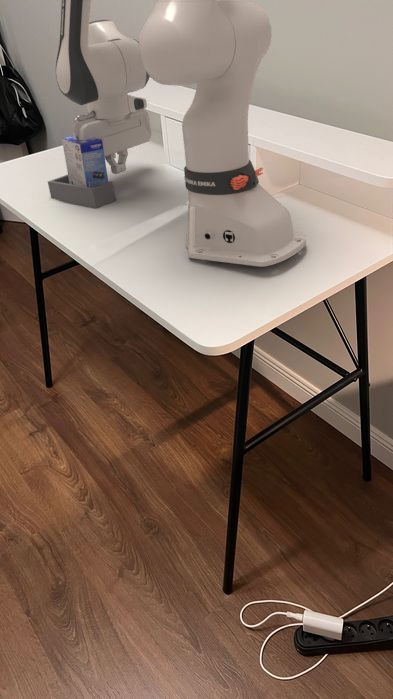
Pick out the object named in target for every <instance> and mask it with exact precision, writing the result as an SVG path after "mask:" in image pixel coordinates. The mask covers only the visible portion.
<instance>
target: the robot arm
mask: <svg viewBox="0 0 393 699" xmlns="http://www.w3.org/2000/svg"><path fill="white" fill-rule="evenodd" d="M91 4H92V0H61V4H60V5H61V6H60V8H61V9H60V26H59V27H60V28H59V29H60V30H59V44H58V49H57V50H58V51H57V56H56V62H55V78H56V79H55V80H56V83H57V86H58V88H59V90H60V92H61V94H63V95H64V96H65V97H66V99H69V101H71V102H73V103H75V104H77V105H79V106H83V105H86V107H87V111H88V112H86V113H84V114H78V115H77V116H75V118H74V121H73V122H72V124H71V126H72V132H73V135H72V136H73V139H76V140H78V139H79V140H88V139H91V138H99V139H102V142H103V149H104V156H105V162H106V163H107V164H108V165H109V166H110V171H111V174H113V175H114V174H115V175H118V174H120V173H123V172H126V171H127V164H126V163H127V159H128V155H129V152H128V151H129V150H128V149H131V148H134V147H137V146H141V145H142V144H146V143H148V142H150V141H151V138H152V127H151V121H150V116H149V113H148V111H147V110H146V108H147V106H148V104H147V99H146V98H144V97H141V96H135V95H131V94H129V93H134V92H137V91H140V90H142V89H144V88H145V87H146V86H147V84H148V82H149V80H150V78H151V80H153V81H155V83H158V84H160V85H164V86H183V87H184V86H185V87H187V86H192V85H195V84H196V90H195V93H194V97H193V99H192V101H191V102H192V103H191V104H190V106H189V107H188V109H187V111H185V114H184V116H183V118H182V123H181V127H182V128H181V129H182V130H181V131H182V138H183V139H182V140H183V149H184V159H185V166H184V167H183V169H184V170H183V174H184V183H185V189H186V190H187V193H188V194H187V195H188V197H187V199H188V206H187V207H188V212H187V214H188V216H187V229H186V230H187V231H186V236H185V241H184V244H185V247H186V249H187V256H188V257H189V258H190V259H194V260H195V259H196V260H203V261H212V262H219V263H220V262H221V263H227V264H228V263H229V264H235V265H242V266H243V265H245V266H253V267H268V266H273V265H276V264H279V263H282V262H284V261H285V260H287V259H289V258H291V257H293V256H295V255H296V254H297V253H299V252H300V251H301V250H302V249H303V248H304V247H305V246H306V243H307V240H306V239H307V238H306V235H305V234H302V233H299V232H296V231H294V228H293V222H292V217H291V214H290V211H289V209H288V208H287V207H286V206H285V205H283V203H281V202H280V201H279V200H278V199H276V198H275V197H274V196H273V195H272V194H271V193H270V192H268V190H267V189H266V188H264V187H263V186H261V185H260V183H259V181H260V180H259V176H261V175H263V173H264V172H261V171H262V170H264V168H263V167H259V168H258V169H255V168H254V165H253V163H252V161H251V160H250V156H249V154H250V153H249V152H250V151H249V122H248V121H249V108H250V101H251V96H252V91H253V88H254V84H255V78H256V75H257V73H258V72H257V71H258V69H259V67H260V64H261V62H262V61H263V59H264V57H265V55H266V54H267V53H268V51H269V49H270V45H271V43H272V42H271V41H272V27H271V22H270V19H269V16H268V14H267V13H266V10H264V9H263V8H262V7H261V5H259V4H257V3H256V2H252V1H248V0H154V3H153V6H152V8H151V9H152V10H151V12H150V15H149V17H148V18H147V20H146V21H145V23H144V25H143V26H142V28H141V31H140V33H139V40H137V39H132V38H130V37H128V36H125V35H124V34H123V33H121V32H120V31H119V30H118V28H117V25H116V24H115V22H114V21H112V20H110V19H100V20H94V21H93V20H92V21H91V22H90V17H91V16H90V15H91ZM116 154H117V155H118V157H117V156H116ZM116 158H117V161H116Z"/></svg>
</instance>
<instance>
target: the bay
mask: <svg viewBox="0 0 393 699" xmlns="http://www.w3.org/2000/svg"><path fill="white" fill-rule="evenodd" d="M47 184H48V189H49V193H50V198H52V199H54V200H57V201H60V202H62V203H66V204H71V205H77V206H81V207H85V208H91V209H98V208H101V207H103V206H105V205H108V204H110V203H113V202H115V201H116V199H117V198H116V192H115V186H114V181H112V180H110V181H109V180H108V182H107V183H104V184H102V185H99V186H96V187H94V188H90V187H84V186H79V185H73V184H69V178H68V174H66V175H62V176H60V177H57V178H54V179H51V180H48V181H47Z"/></svg>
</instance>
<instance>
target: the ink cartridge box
mask: <svg viewBox="0 0 393 699" xmlns="http://www.w3.org/2000/svg"><path fill="white" fill-rule="evenodd" d="M61 141H62V147H63V153H64V154H63V155H64V159H65V165H66V170H67V171H66V172H67V175H68V178H69V184H73V185H79V186H84V187H90V188H94V187H96V186H99V185H102V184H104V183H107V182H109V177H108V176H109V175H108V171H107V164H106V163H107V162H106V160H105V156H104V149H103V142H102V139H99V138H91V139H88V140H79V139H78V140H76V139H73V135H69V136H66V137H62V138H61Z"/></svg>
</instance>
